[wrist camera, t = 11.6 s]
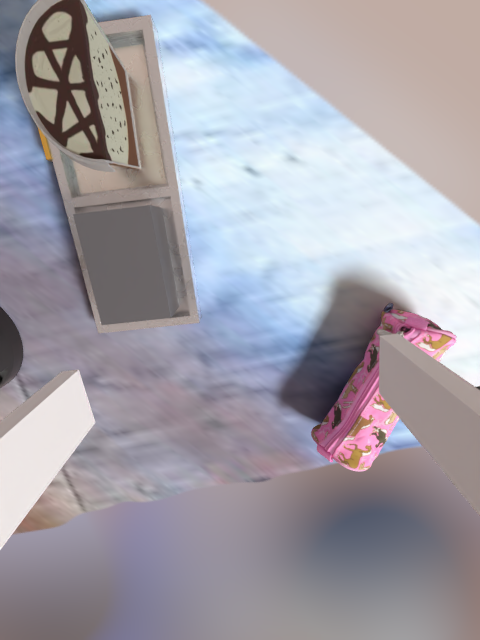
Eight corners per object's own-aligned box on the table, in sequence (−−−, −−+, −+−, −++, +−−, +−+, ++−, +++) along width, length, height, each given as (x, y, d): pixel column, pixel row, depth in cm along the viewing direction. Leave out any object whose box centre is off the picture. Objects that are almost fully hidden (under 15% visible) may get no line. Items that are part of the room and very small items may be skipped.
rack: (103, 327, 41) (93, 334, 38) (30, 48, 32) (12, 33, 29) (201, 316, 40) (199, 323, 38) (157, 31, 31) (150, 13, 29)
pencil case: (373, 294, 40) (409, 312, 31) (433, 320, 41) (483, 345, 32) (301, 422, 46) (314, 467, 37) (355, 442, 47) (380, 490, 38)
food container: (64, 56, 31) (-15, -20, 21) (124, 51, 31) (71, -27, 21) (89, 187, 34) (31, 172, 25) (143, 183, 34) (105, 167, 25)
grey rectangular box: (118, 312, 39) (101, 325, 34) (95, 215, 36) (72, 214, 31) (179, 306, 39) (170, 317, 34) (162, 207, 35) (149, 205, 31)
